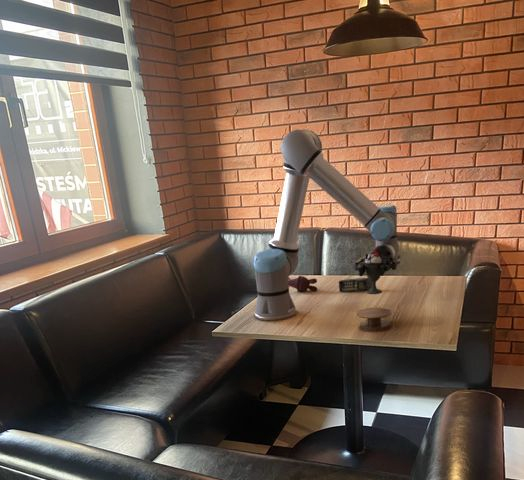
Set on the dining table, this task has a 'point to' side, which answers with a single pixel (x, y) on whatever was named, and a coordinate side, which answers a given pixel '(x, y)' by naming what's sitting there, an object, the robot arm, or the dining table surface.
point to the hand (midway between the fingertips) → (370, 271)
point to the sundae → (373, 270)
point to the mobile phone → (355, 284)
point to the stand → (374, 319)
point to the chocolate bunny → (302, 284)
